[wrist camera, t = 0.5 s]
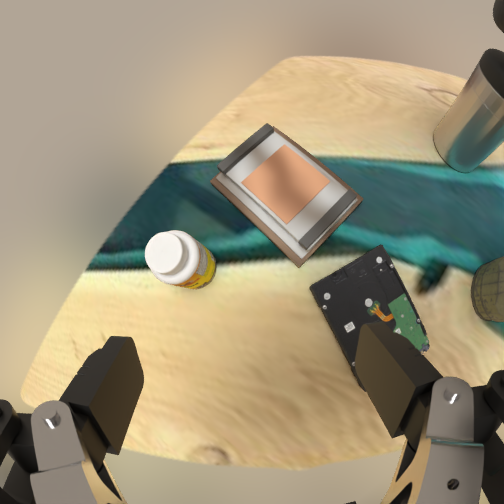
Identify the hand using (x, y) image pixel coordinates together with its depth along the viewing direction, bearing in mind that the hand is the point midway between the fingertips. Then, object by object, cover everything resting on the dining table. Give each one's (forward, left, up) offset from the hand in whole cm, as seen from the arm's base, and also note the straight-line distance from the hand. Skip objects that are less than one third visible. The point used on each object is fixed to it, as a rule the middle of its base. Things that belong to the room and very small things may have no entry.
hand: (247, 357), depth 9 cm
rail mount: (-12, -11, -24) cm, 29 cm away
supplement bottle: (+3, -12, -24) cm, 27 cm away
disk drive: (-8, +8, -25) cm, 27 cm away
